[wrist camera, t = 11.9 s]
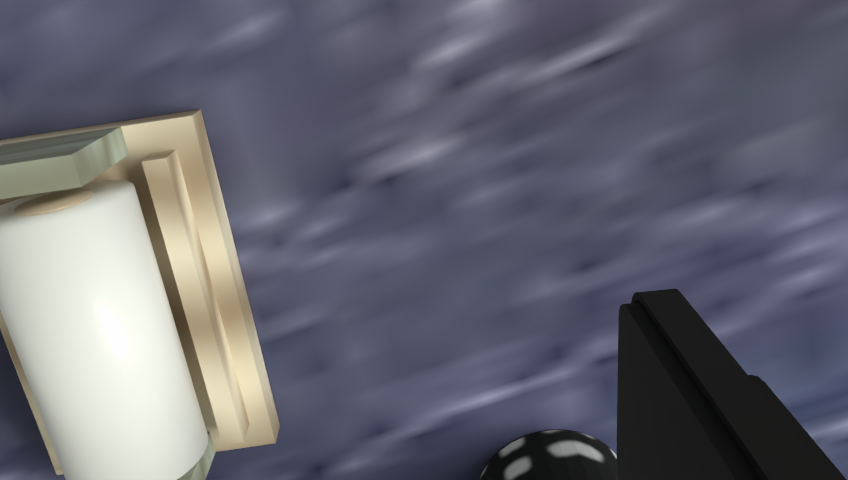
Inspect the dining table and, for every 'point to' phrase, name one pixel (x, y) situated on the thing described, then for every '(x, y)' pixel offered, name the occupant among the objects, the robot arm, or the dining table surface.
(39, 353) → the roll
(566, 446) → the spotted tube
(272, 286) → the dining table surface
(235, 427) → the holder
